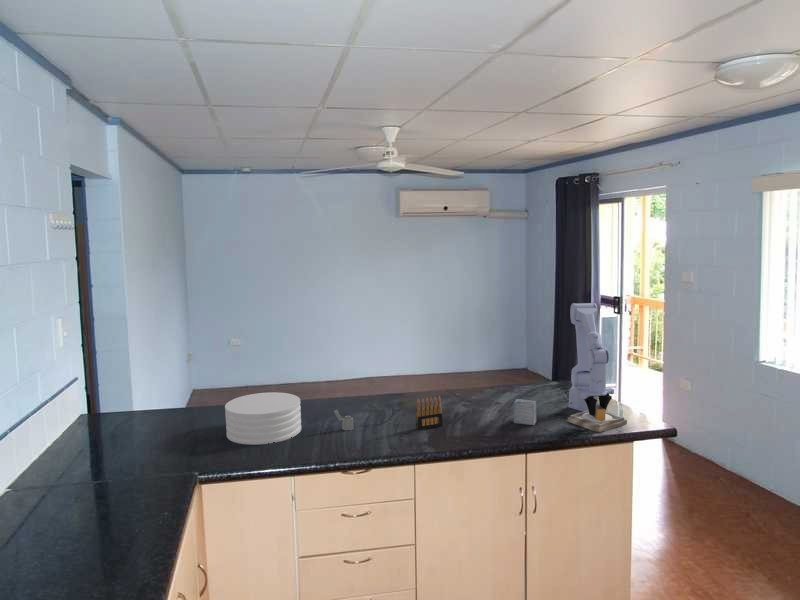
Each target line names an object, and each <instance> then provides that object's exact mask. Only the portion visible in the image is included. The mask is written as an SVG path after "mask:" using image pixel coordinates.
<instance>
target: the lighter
mask: <svg viewBox="0 0 800 600" xmlns="http://www.w3.org/2000/svg"><path fill="white" fill-rule="evenodd" d="M333 412H334V413H333V414H335V417H336V418H337V420H338V422H342V424H341V426H342V428H341V429H343V430H345V431H353V430H352V429H354V418H353V417H352V416H351V415H345V416H344V418H343V417H342V416H341V414H340V412H339V411H338V409H336V410H334V411H333ZM343 430H342V431H343Z"/></svg>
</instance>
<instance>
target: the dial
mask: <svg viewBox="0 0 800 600" xmlns="http://www.w3.org/2000/svg"><path fill="white" fill-rule="evenodd" d="M606 412H607V409H606V410H605V409H604V408H602V407H601V406H600V403H598V402H597V403H596V407H595V415H594V416H592V415H590V414H589V412H588V413H584V414H583V415H582V418H585V419H588V420H589V421H592V422H595V423H598V424H602V423H605V422H608V421H610V420H612V416H610V415H608V414H606Z"/></svg>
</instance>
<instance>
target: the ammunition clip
mask: <svg viewBox="0 0 800 600" xmlns="http://www.w3.org/2000/svg"><path fill="white" fill-rule="evenodd" d="M442 410H443V409H442V402H441V395H438V397H437V396H435V395H434V397H433V398H432V396H430V397H429V398H428V397H426V399H425V400H424V398H423V397H422V398H421V401H420V399H419V398H417V400H416V416H415V429H416V430H417V431H418V430H419V431H420V430H421V431H422V430H425V429H433V428H438V427H443V426H444V425H443V413H442Z"/></svg>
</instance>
